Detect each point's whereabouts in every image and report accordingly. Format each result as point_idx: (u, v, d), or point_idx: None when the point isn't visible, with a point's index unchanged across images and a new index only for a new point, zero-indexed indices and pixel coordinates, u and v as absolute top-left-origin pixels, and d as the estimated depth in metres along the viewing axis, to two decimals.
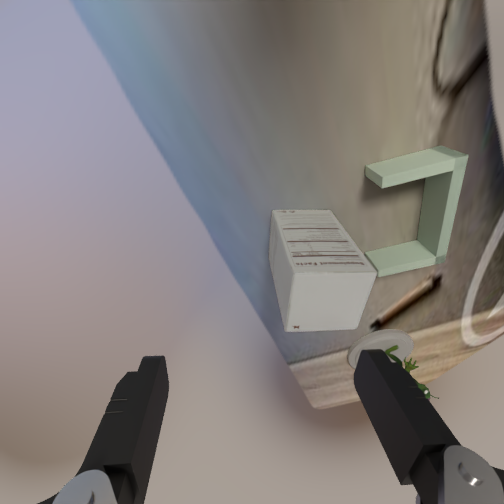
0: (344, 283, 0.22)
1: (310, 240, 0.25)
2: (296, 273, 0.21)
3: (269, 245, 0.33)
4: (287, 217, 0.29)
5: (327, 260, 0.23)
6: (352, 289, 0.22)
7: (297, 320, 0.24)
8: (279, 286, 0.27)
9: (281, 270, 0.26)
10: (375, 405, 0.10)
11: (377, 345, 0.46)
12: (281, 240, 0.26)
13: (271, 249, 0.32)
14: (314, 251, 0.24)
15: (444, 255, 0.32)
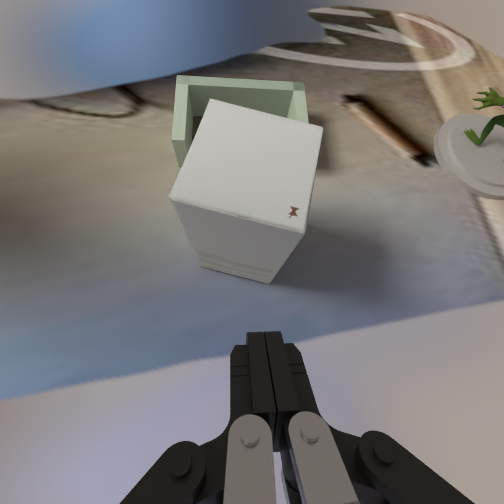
0: (213, 134, 0.15)
1: None
2: (171, 194, 0.13)
3: (245, 277, 0.24)
4: None
5: None
6: (229, 125, 0.15)
7: (276, 206, 0.14)
8: (252, 249, 0.17)
9: (218, 239, 0.17)
10: None
11: (464, 155, 0.31)
12: (189, 239, 0.19)
13: (240, 271, 0.23)
14: None
15: (293, 83, 0.28)
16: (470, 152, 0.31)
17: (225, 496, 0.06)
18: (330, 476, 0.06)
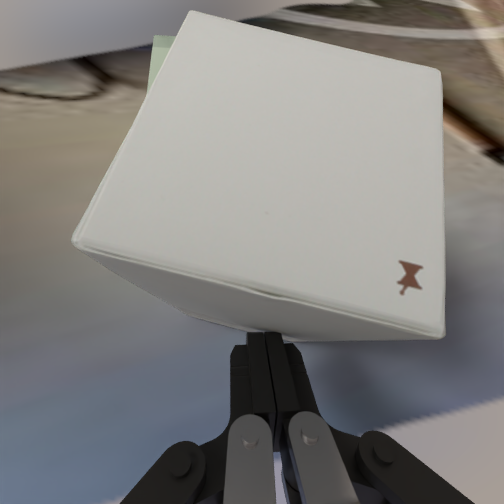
0: (195, 83, 0.06)
1: None
2: (77, 231, 0.05)
3: None
4: None
5: None
6: (233, 63, 0.06)
7: (361, 263, 0.05)
8: (281, 326, 0.08)
9: (212, 309, 0.08)
10: None
11: None
12: (159, 297, 0.10)
13: (250, 330, 0.14)
14: None
15: None
16: None
17: (225, 496, 0.06)
18: (330, 476, 0.06)
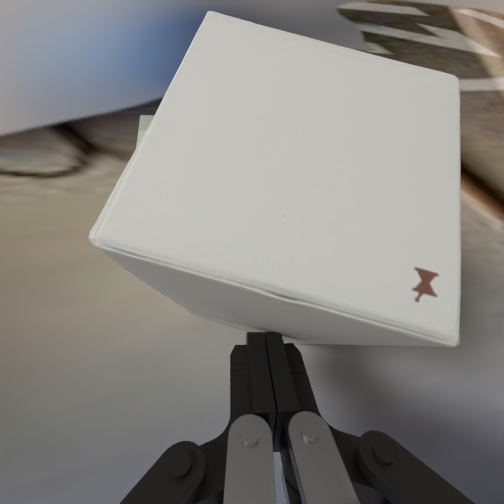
0: (213, 83, 0.06)
1: None
2: (95, 229, 0.05)
3: None
4: None
5: None
6: (251, 65, 0.06)
7: (377, 269, 0.05)
8: (288, 328, 0.08)
9: (221, 309, 0.08)
10: None
11: None
12: (166, 296, 0.10)
13: (255, 331, 0.14)
14: None
15: None
16: None
17: (225, 496, 0.06)
18: (330, 476, 0.06)
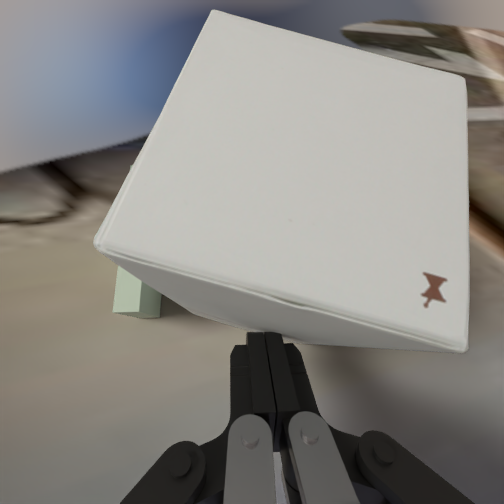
0: (218, 84, 0.06)
1: None
2: (100, 234, 0.05)
3: None
4: None
5: None
6: (256, 66, 0.06)
7: (386, 274, 0.05)
8: (292, 330, 0.08)
9: (225, 312, 0.08)
10: None
11: None
12: (169, 297, 0.10)
13: (257, 331, 0.14)
14: None
15: None
16: None
17: (225, 496, 0.06)
18: (330, 476, 0.06)
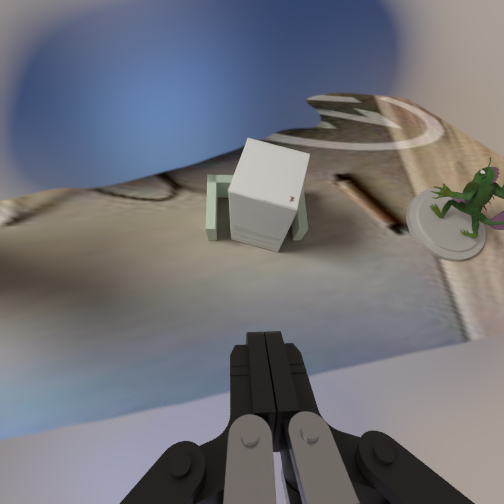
0: (250, 158, 0.27)
1: None
2: (229, 189, 0.26)
3: (262, 246, 0.37)
4: None
5: None
6: (258, 153, 0.28)
7: (283, 196, 0.26)
8: (269, 222, 0.29)
9: (250, 216, 0.29)
10: None
11: (428, 226, 0.39)
12: (231, 217, 0.31)
13: (259, 241, 0.35)
14: None
15: None
16: (434, 223, 0.39)
17: (225, 497, 0.06)
18: (331, 476, 0.06)
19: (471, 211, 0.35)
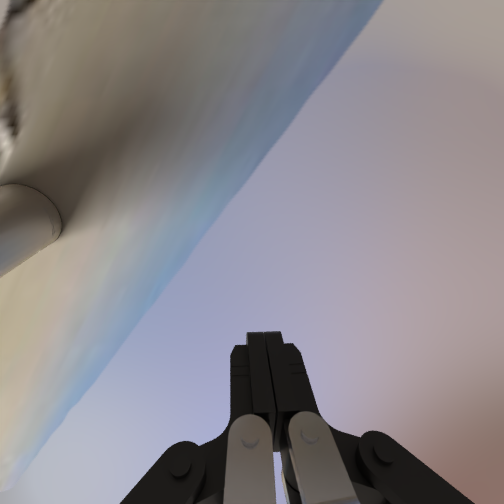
0: None
1: None
2: None
3: None
4: None
5: None
6: None
7: None
8: None
9: None
10: None
11: None
12: None
13: None
14: None
15: None
16: None
17: (225, 497, 0.06)
18: (330, 476, 0.06)
19: None
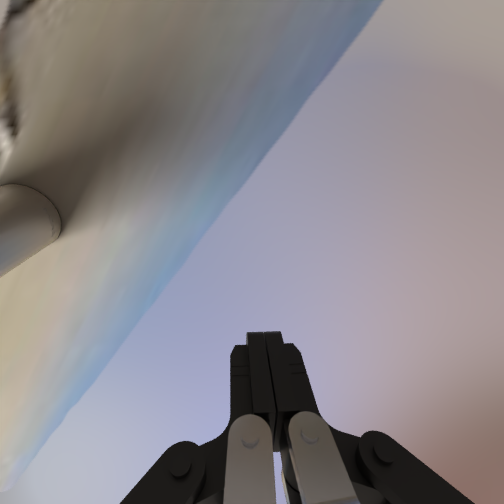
0: None
1: None
2: None
3: None
4: None
5: None
6: None
7: None
8: None
9: None
10: None
11: None
12: None
13: None
14: None
15: None
16: None
17: (225, 496, 0.06)
18: (330, 476, 0.06)
19: None
